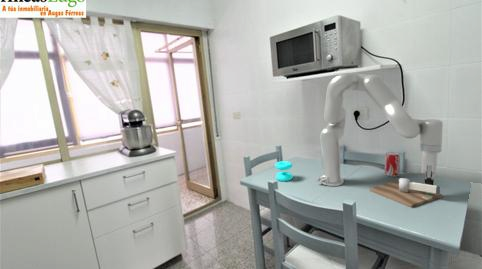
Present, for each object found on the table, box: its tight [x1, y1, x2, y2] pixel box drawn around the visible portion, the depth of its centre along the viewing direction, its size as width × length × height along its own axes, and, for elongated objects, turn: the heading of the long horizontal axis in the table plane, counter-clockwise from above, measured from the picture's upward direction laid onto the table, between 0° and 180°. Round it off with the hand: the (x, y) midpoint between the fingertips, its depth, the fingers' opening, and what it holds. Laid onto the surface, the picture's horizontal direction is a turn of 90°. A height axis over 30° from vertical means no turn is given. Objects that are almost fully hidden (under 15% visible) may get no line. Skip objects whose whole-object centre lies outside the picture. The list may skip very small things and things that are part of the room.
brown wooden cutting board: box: [368, 179, 444, 209], centre depth 115 cm, size 21×21×2 cm
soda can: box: [384, 151, 401, 178], centre depth 137 cm, size 7×7×13 cm
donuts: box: [275, 160, 294, 182], centre depth 146 cm, size 10×10×10 cm
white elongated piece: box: [398, 177, 441, 194], centre depth 110 cm, size 15×4×5 cm, turn 48°
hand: (428, 186), depth 110 cm, fingers closed
